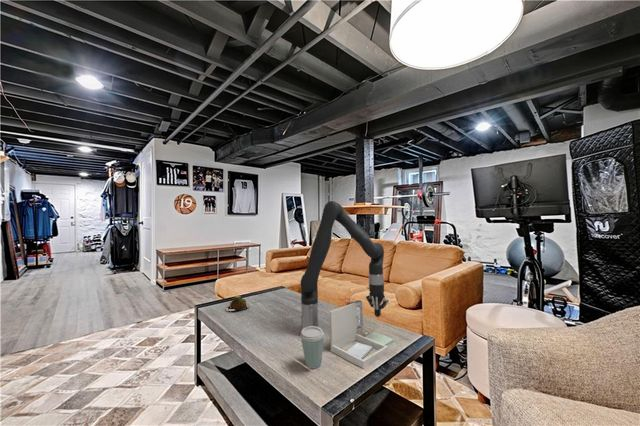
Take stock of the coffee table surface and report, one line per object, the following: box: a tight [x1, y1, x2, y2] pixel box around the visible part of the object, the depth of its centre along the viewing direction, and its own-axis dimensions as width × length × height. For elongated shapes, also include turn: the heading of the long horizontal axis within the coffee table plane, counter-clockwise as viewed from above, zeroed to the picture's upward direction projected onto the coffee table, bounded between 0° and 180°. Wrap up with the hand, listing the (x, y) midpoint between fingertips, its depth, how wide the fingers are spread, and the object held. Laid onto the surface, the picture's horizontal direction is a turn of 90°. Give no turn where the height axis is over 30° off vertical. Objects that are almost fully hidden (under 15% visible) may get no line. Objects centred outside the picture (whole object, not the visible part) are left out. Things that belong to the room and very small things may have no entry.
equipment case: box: [329, 301, 389, 369], centre depth 124 cm, size 19×20×19 cm
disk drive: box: [345, 299, 364, 329], centre depth 151 cm, size 10×3×15 cm, turn 122°
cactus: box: [229, 294, 248, 312], centre depth 189 cm, size 17×16×10 cm
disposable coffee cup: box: [299, 326, 325, 370], centre depth 115 cm, size 11×11×15 cm
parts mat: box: [365, 331, 395, 347], centre depth 134 cm, size 10×12×2 cm
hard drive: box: [347, 342, 373, 359], centre depth 123 cm, size 2×8×12 cm
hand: (377, 316), depth 134 cm, fingers closed
